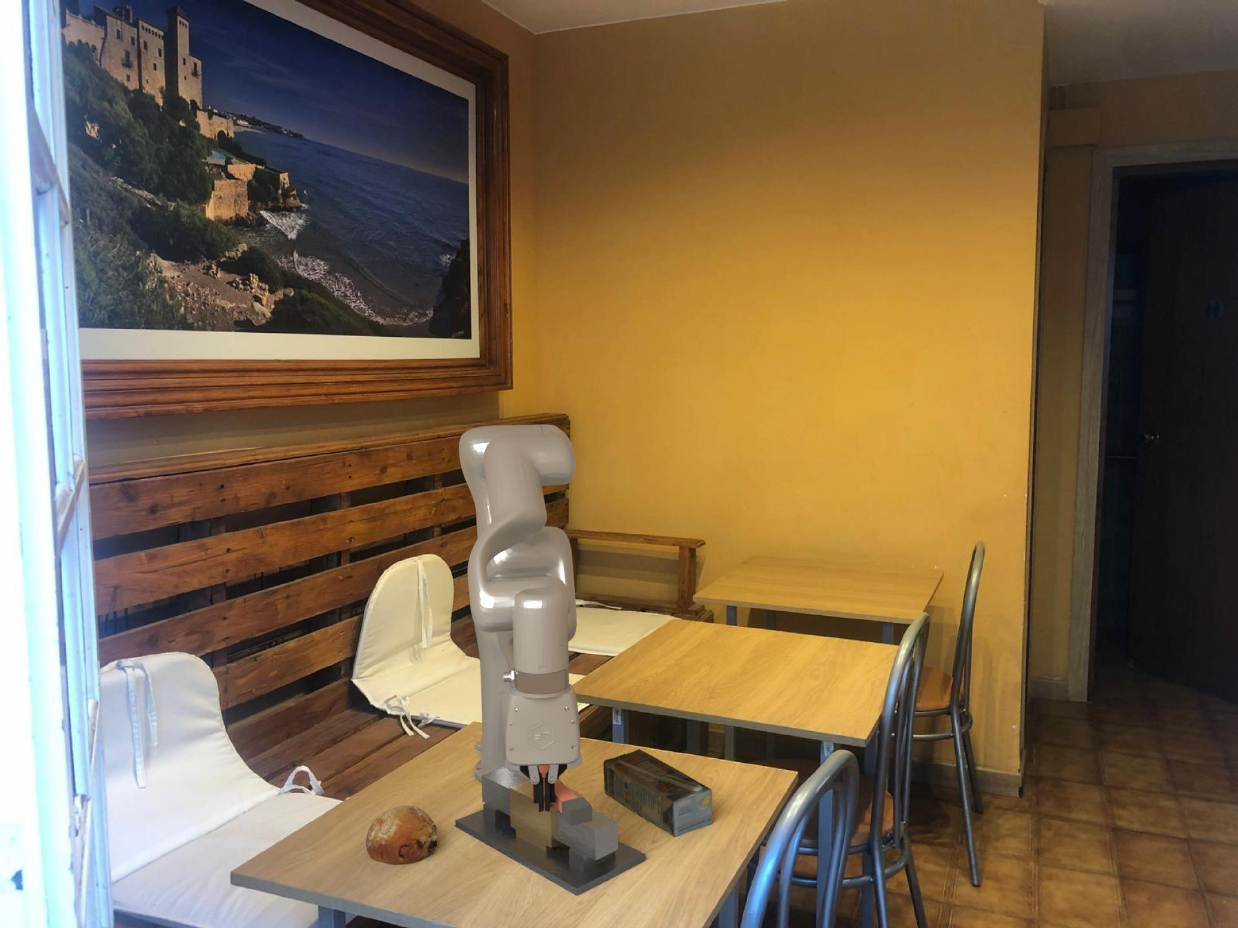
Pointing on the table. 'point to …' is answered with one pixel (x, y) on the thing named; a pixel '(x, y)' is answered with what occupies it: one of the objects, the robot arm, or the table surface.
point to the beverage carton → (658, 792)
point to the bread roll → (401, 836)
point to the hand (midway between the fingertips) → (544, 807)
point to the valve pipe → (547, 835)
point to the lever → (569, 802)
